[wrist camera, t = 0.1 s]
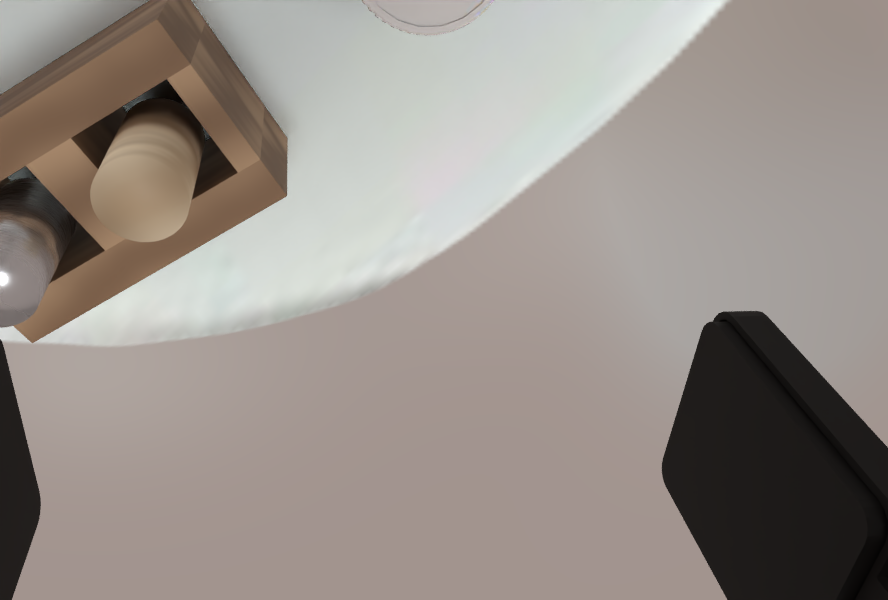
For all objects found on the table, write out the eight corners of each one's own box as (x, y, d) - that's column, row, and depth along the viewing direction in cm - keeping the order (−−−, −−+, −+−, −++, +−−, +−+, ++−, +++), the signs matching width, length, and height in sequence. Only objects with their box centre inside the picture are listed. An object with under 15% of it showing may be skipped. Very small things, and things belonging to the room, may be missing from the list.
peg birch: (103, 124, 40) (68, 187, 33) (170, 83, 39) (148, 139, 33) (157, 187, 42) (133, 257, 35) (221, 149, 41) (208, 213, 35)
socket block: (-64, 135, 44) (-128, 197, 37) (178, -18, 42) (156, 18, 35) (67, 268, 49) (32, 343, 43) (287, 138, 47) (286, 196, 40)
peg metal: (-26, 203, 41) (-82, 278, 34) (38, 164, 40) (-8, 233, 34) (33, 261, 43) (-11, 341, 36) (94, 224, 42) (60, 300, 36)
